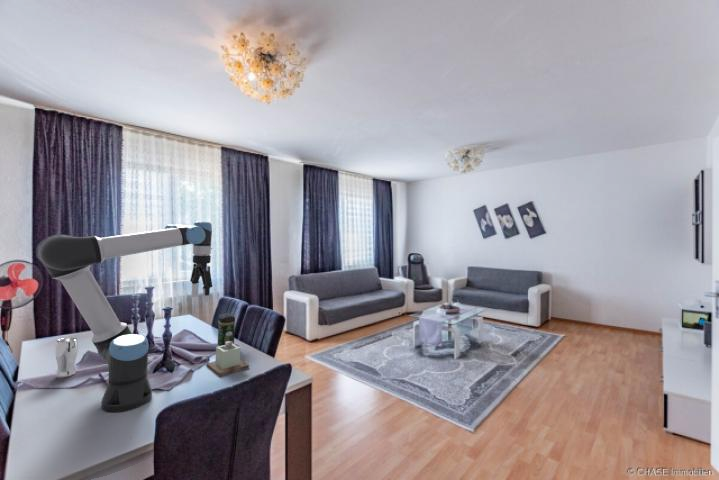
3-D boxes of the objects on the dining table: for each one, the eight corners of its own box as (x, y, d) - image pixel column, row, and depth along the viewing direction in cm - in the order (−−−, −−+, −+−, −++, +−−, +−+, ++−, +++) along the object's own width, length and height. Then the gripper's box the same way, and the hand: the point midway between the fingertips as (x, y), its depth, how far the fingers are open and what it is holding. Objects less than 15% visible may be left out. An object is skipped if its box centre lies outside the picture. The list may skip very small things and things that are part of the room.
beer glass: (77, 374, 135) (78, 340, 135) (55, 379, 130) (56, 343, 130) (76, 369, 140) (76, 336, 140) (54, 374, 135) (55, 339, 135)
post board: (219, 376, 140) (220, 349, 140) (206, 366, 150) (207, 341, 149) (248, 368, 150) (249, 343, 150) (235, 358, 160) (236, 335, 160)
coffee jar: (215, 346, 176) (216, 313, 175) (230, 343, 181) (231, 311, 180) (220, 351, 168) (222, 317, 168) (235, 348, 173) (237, 315, 173)
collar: (222, 369, 144) (223, 351, 144) (215, 363, 150) (216, 346, 150) (239, 364, 150) (240, 347, 150) (231, 359, 156) (232, 343, 155)
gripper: (221, 256, 143) (219, 303, 143) (200, 252, 160) (198, 294, 160) (204, 257, 137) (202, 305, 138) (184, 252, 154) (182, 295, 155)
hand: (200, 299), depth 149 cm, fingers open, 13 cm apart
